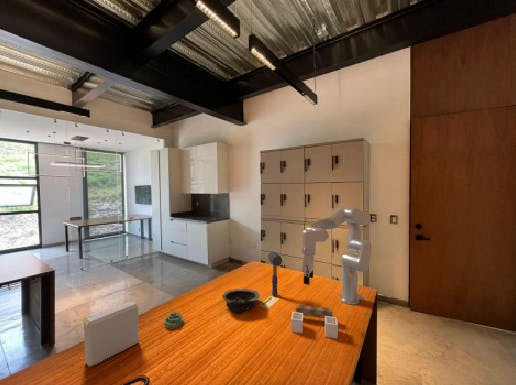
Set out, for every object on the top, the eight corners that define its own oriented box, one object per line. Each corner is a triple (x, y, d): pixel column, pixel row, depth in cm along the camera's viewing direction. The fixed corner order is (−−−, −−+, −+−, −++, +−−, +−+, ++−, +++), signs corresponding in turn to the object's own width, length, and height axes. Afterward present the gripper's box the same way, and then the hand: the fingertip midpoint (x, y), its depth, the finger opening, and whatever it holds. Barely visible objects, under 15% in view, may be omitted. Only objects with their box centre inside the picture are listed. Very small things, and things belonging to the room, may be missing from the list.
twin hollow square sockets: (336, 330, 125) (336, 317, 125) (337, 338, 119) (337, 325, 118) (292, 324, 131) (292, 311, 130) (291, 331, 124) (291, 318, 124)
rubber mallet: (282, 299, 159) (283, 255, 157) (272, 300, 157) (272, 256, 155) (276, 290, 171) (277, 250, 169) (267, 291, 169) (267, 250, 167)
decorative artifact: (166, 319, 135) (162, 330, 126) (166, 307, 135) (162, 317, 125) (184, 317, 137) (181, 328, 127) (184, 306, 137) (181, 315, 127)
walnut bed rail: (331, 320, 134) (331, 308, 133) (332, 324, 130) (332, 312, 130) (296, 316, 138) (296, 304, 138) (295, 319, 135) (296, 307, 135)
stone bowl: (228, 320, 134) (228, 304, 134) (217, 303, 156) (217, 289, 157) (267, 310, 144) (266, 295, 144) (251, 295, 167) (251, 282, 167)
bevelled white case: (133, 336, 120) (132, 298, 119) (140, 343, 115) (139, 303, 114) (83, 361, 104) (82, 317, 103) (89, 370, 99) (87, 324, 98)
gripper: (305, 246, 142) (305, 274, 143) (298, 254, 127) (298, 285, 127) (318, 248, 139) (317, 276, 140) (312, 256, 124) (311, 288, 124)
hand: (308, 280), depth 134 cm, fingers open, 9 cm apart
